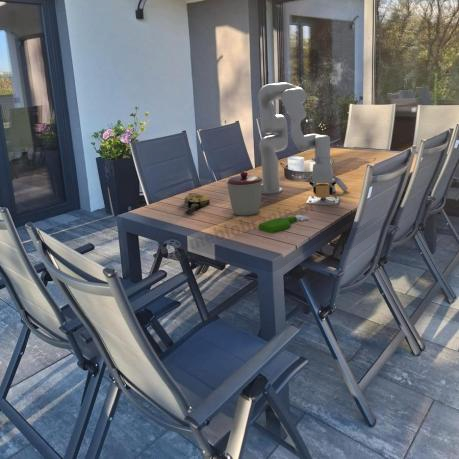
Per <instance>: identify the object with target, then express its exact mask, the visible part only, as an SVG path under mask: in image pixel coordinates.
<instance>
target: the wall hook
mask: <svg viewBox="0 0 459 459" xmlns="http://www.w3.org/2000/svg"><path fill="white" fill-rule="evenodd" d="M336 177H337V178H338V179H339V180H338V182H337V183H336V184H337V185H338V186H339V188H340V189H341V191H342V192H344V193H345V192H346V191H347V190H349V188H348V186H347V185H346V184H345V182H343V180H342V179H341V178H340V177H339V176H336ZM334 181H335V179H333V180H332V183H333V182H334ZM328 184H329V183H328ZM336 184H335V185H336ZM335 185H334V186H333V193H336V186H335Z"/></svg>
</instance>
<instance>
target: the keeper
mask: <svg viewBox="0 0 459 459" xmlns="http://www.w3.org/2000/svg"><path fill="white" fill-rule="evenodd" d="M340 200H341V196H330V197H326V198H319V197H316V195H314V196H313V195H312V196H311V195H310V196H309V197H308V198H307V200H306V202H305V205H322V206H323V205H325V206H326V205H327V206H328V205H329V206H330V205H332V206H337V205H339V202H340Z"/></svg>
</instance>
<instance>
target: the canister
mask: <svg viewBox="0 0 459 459" xmlns="http://www.w3.org/2000/svg"><path fill="white" fill-rule="evenodd" d="M248 174H249V173H248V172H247V171H241V172H240V175H238V176H233V177H230V178H229V179H227V181H225V184H226V185H227V190H228V194H229V200H230V204H231V209H232V212H233V214H235V215H237V216H243V217H244V216H245V217H247V216H248V217H249V216H252V215H256V214H258V213H259V211H260V209H261V203H262V202H261V200H262V193H261V187H262V184H263V178H261V177H260V176H258V175H251V174H249V175H248Z"/></svg>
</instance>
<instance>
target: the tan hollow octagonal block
mask: <svg viewBox="0 0 459 459" xmlns="http://www.w3.org/2000/svg"><path fill="white" fill-rule="evenodd" d="M329 188H330V185H329V184H328V183H316V195H315V196H316V197H319V198H326V197H331V195H330V194H329Z"/></svg>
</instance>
